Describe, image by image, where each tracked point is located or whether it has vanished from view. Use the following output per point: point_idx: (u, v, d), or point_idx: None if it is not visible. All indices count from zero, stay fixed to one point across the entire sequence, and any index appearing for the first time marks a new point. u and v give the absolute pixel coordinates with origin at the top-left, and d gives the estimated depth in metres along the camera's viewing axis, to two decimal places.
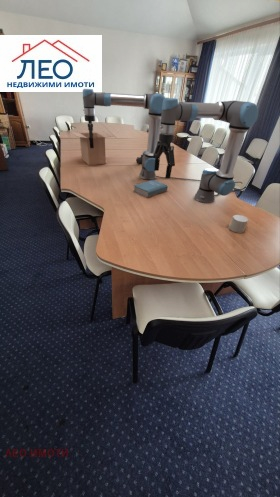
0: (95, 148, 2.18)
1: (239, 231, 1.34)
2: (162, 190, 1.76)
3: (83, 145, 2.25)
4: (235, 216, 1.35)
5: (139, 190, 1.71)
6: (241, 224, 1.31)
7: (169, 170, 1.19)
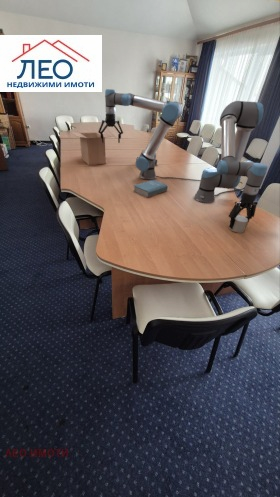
0: (95, 148, 2.18)
1: (239, 231, 1.34)
2: (162, 190, 1.76)
3: (83, 145, 2.25)
4: None
5: (139, 190, 1.71)
6: (241, 224, 1.31)
7: None
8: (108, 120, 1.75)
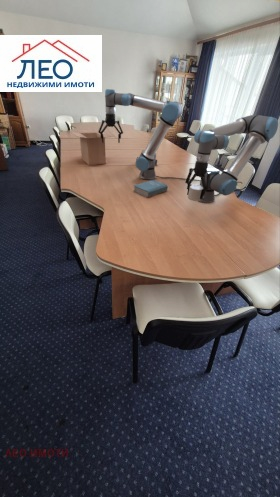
0: (95, 148, 2.18)
1: (190, 198, 1.43)
2: (162, 190, 1.76)
3: (83, 145, 2.25)
4: (195, 185, 1.44)
5: (139, 190, 1.71)
6: (190, 190, 1.41)
7: (204, 192, 1.39)
8: (108, 120, 1.75)
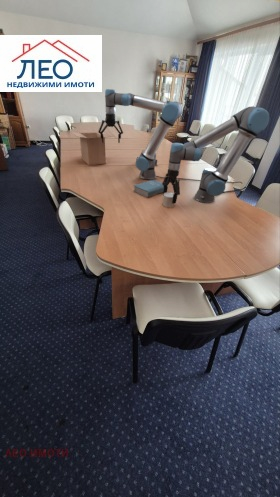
0: (95, 148, 2.18)
1: None
2: (162, 190, 1.76)
3: (83, 145, 2.25)
4: (171, 193, 1.58)
5: (139, 190, 1.71)
6: (163, 196, 1.57)
7: (175, 197, 1.49)
8: (108, 120, 1.75)
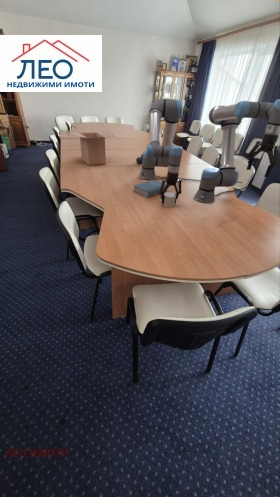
0: (95, 148, 2.18)
1: None
2: None
3: (83, 145, 2.25)
4: (171, 193, 1.58)
5: (139, 190, 1.71)
6: None
7: (271, 169, 1.23)
8: (170, 179, 1.48)
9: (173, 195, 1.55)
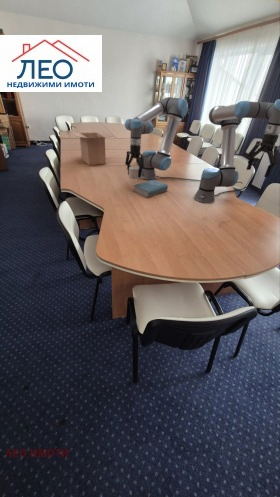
0: (95, 148, 2.18)
1: None
2: (162, 190, 1.76)
3: (83, 145, 2.25)
4: (138, 167, 1.69)
5: (139, 190, 1.71)
6: None
7: (271, 169, 1.23)
8: (132, 151, 1.61)
9: (136, 168, 1.66)
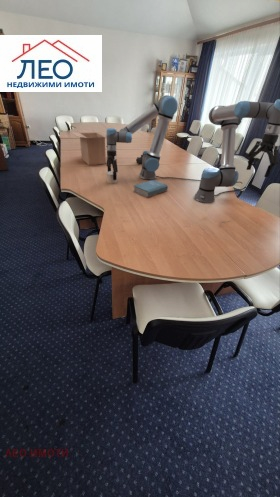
0: (95, 148, 2.18)
1: None
2: (162, 190, 1.76)
3: (83, 145, 2.25)
4: None
5: (139, 190, 1.71)
6: None
7: (271, 169, 1.23)
8: (109, 156, 1.80)
9: (111, 173, 1.85)
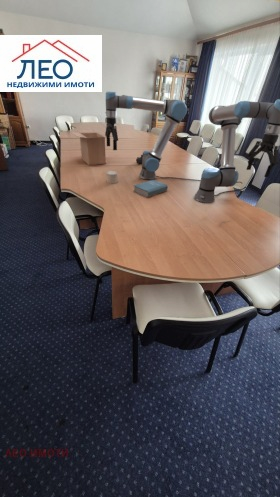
0: (95, 148, 2.18)
1: None
2: (162, 190, 1.76)
3: (83, 145, 2.25)
4: (115, 173, 1.86)
5: (139, 190, 1.71)
6: None
7: (271, 169, 1.23)
8: (109, 124, 1.66)
9: (111, 173, 1.85)
